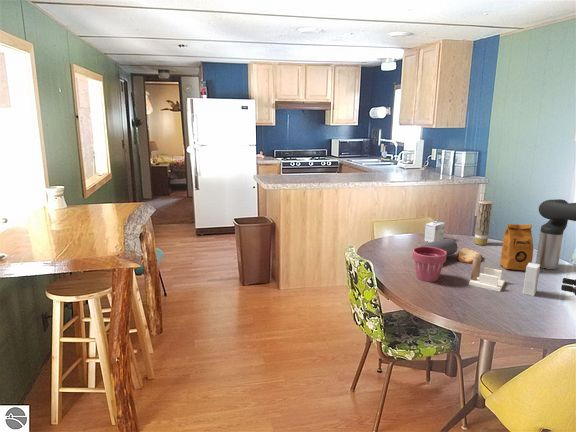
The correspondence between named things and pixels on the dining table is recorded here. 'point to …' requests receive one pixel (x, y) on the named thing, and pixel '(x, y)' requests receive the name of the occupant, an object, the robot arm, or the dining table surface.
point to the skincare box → (531, 279)
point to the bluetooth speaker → (444, 245)
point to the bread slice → (466, 255)
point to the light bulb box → (434, 231)
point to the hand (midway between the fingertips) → (561, 283)
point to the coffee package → (517, 247)
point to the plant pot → (428, 262)
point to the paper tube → (483, 222)
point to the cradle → (485, 276)
